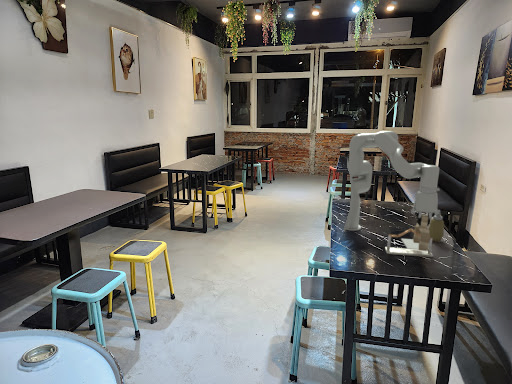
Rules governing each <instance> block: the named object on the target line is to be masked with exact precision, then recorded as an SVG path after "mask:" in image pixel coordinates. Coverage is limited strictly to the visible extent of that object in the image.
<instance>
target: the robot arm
mask: <svg viewBox="0 0 512 384" xmlns="http://www.w3.org/2000/svg"><path fill="white" fill-rule="evenodd" d="M348 146H349V149H348V151H349V155H348V167H349V170H350V173H351V182H352V202H351V211H350V214H349V217H348V221H347V224H346V227H345V231H350V232H351V231H353V232H354V231H359V230H361V229H362V225H361V224H359V223H360V222H359V221H360V213H361V212H360V211H361V198H360V194H362V193H367V192H369V190H370V189H371V186H372V180H373V179H372V178H373V166H372V164H371V162H370V161H369V160H364V158H365V153H364V150H363V149H374V148H379V149H380V150H381V151H383V153H385V154H386V156H387V157H388V158H389V159H390V164H391V167H392V168H393V169H394V170H395V172H397V173H398V174H399V175H400V176H401V177H403V178H405V179H416V178H417V179H418V178H420V182H419V188H418V191H416V194H415V197H414V198H415V199H414V202H413V207H412V208H411V209H410V213H412V214H413V215H416V217H417V220H416V223H418V225H419V226H421V220H422V218H421V215H423V213H427V214H426V215H427V216H428V224H427V227H429V226H430V222H431V220H432V219H433V216H434V215H437V214H439V211H438V210H439V209H438V204H439V203H438V201H439V198H438V192H440V188H438V183H439V182H438V181H439V175H440V167H439V166H438V165H434V164H427V163H423V162H411V163H410V162H408V161H407V160H406V159H405V158H404V157H403V156H402V153H403V152H404V147H403V145H401V144H400V143H399V135H398V134H397V132H395V131H393V130H380V131H378V132H371V133H368V132H367V133H360V134H359V133H357V134H355V135H354V136H352V138H351V139H350V142H349V145H348Z"/></svg>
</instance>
